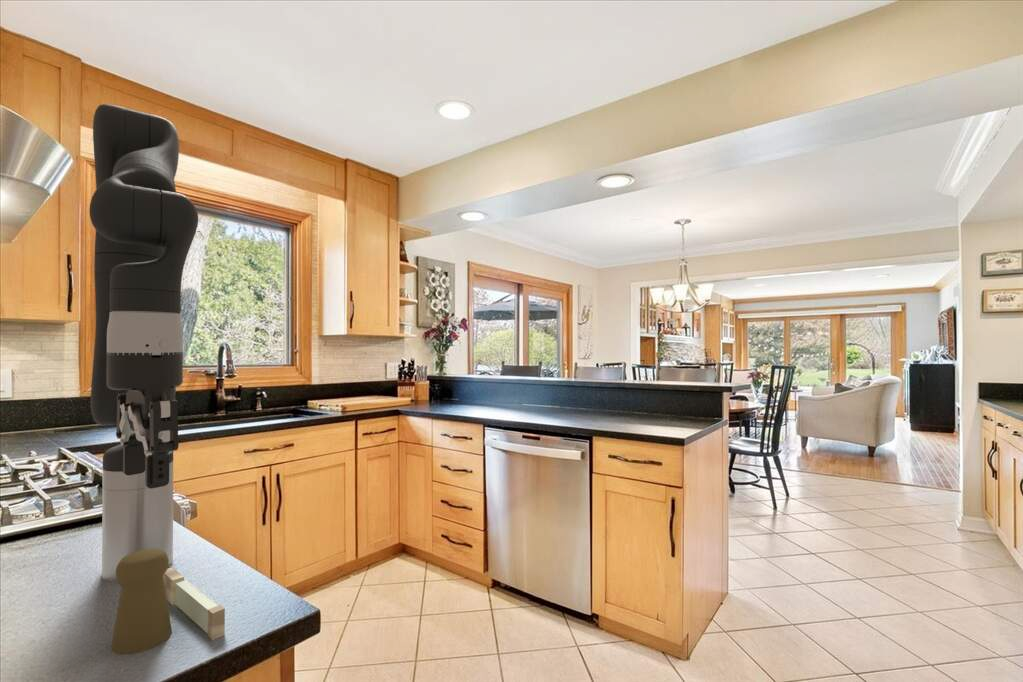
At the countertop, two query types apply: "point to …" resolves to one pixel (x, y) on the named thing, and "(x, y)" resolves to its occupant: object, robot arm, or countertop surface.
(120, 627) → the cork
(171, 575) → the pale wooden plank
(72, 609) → the countertop surface
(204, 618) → the gate door
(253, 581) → the countertop surface
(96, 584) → the countertop surface
